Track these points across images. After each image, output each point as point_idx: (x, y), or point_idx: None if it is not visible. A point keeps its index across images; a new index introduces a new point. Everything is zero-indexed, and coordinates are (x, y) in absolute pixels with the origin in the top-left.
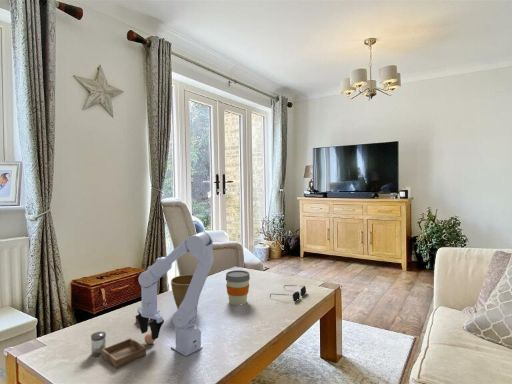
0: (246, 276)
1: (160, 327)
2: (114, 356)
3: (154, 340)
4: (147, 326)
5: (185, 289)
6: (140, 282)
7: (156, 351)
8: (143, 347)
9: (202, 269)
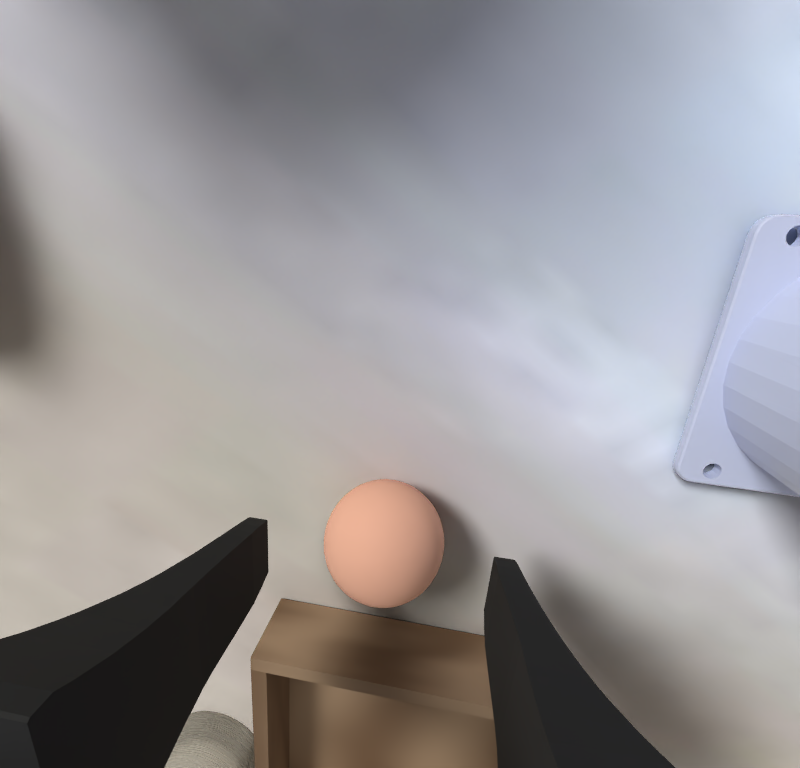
0: None
1: (599, 698)
2: (360, 761)
3: (434, 508)
4: (229, 557)
5: None
6: None
7: (576, 572)
8: None
9: None
